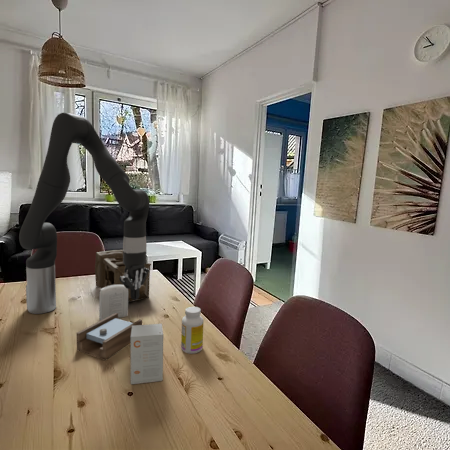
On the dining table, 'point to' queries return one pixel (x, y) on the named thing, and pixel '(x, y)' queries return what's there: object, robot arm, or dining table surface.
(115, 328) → the lid
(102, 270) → the ornamental box
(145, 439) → the dining table surface
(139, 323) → the box
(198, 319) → the supplement bottle
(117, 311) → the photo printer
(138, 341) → the small box
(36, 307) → the robot arm
